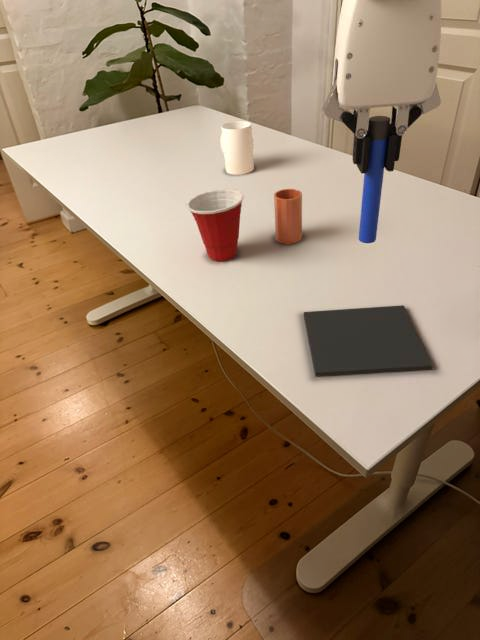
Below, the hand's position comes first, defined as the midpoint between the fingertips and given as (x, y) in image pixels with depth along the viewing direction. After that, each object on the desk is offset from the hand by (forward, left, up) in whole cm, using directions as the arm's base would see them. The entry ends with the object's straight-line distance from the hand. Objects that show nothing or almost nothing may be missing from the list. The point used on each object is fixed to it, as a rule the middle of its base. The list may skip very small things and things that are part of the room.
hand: (374, 167), depth 55 cm
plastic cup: (+22, -28, -26) cm, 44 cm away
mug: (+19, -77, -26) cm, 83 cm away
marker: (0, 0, -10) cm, 10 cm away
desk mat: (0, +1, -26) cm, 26 cm away
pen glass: (+8, -33, -26) cm, 42 cm away
